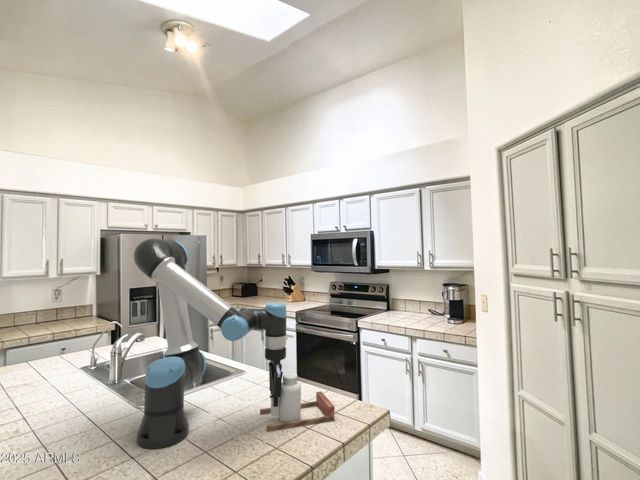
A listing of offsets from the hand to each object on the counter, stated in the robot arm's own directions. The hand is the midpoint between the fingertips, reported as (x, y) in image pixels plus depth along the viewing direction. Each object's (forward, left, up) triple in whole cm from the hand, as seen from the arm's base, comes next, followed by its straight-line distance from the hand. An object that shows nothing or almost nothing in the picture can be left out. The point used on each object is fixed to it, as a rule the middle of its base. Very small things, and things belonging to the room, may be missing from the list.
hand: (274, 414), depth 120 cm
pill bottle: (+5, 0, -2) cm, 6 cm away
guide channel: (+8, 0, -2) cm, 8 cm away
